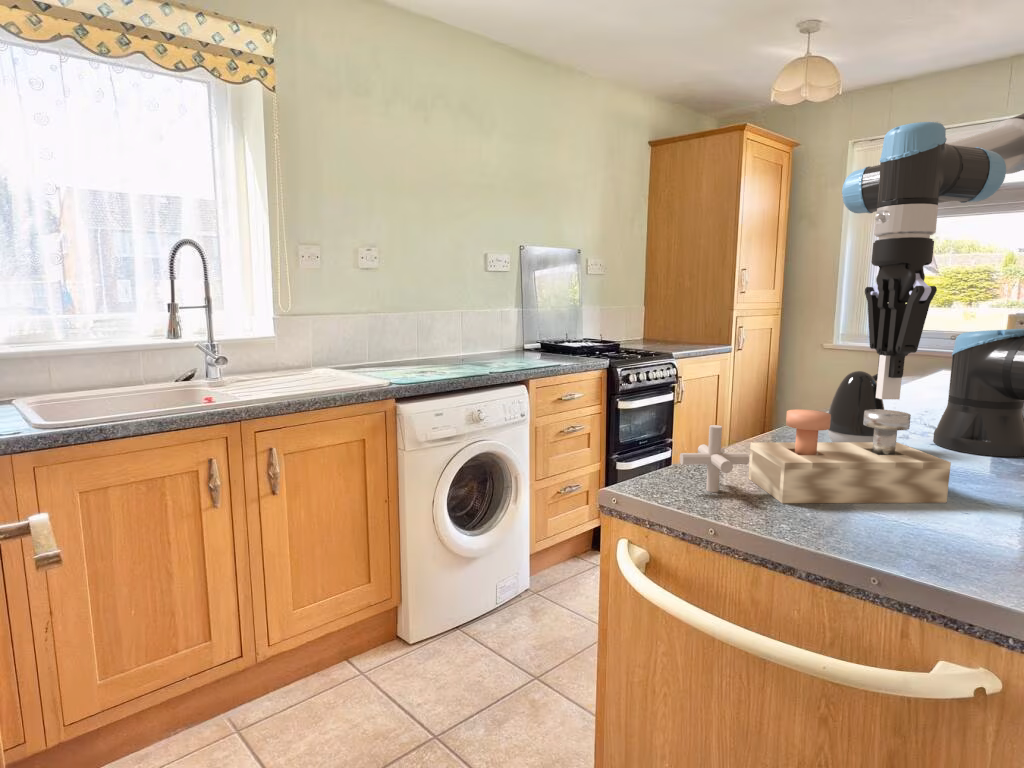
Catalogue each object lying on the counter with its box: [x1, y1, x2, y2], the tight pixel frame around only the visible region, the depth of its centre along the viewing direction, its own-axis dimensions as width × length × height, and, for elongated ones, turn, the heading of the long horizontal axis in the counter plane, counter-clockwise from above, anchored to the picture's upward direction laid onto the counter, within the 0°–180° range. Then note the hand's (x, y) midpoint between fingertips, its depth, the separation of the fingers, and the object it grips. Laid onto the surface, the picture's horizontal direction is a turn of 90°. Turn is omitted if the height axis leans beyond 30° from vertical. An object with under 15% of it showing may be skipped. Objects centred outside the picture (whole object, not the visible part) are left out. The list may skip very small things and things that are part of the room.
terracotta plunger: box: [785, 408, 831, 455], centre depth 93 cm, size 6×6×8 cm
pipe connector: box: [679, 424, 750, 493], centre depth 93 cm, size 10×10×10 cm
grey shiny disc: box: [863, 409, 912, 455], centre depth 93 cm, size 6×6×8 cm
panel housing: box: [748, 441, 952, 504], centre depth 94 cm, size 24×12×6 cm, turn 91°
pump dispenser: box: [827, 370, 885, 442], centre depth 119 cm, size 10×10×15 cm
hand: (887, 398), depth 92 cm, fingers closed
